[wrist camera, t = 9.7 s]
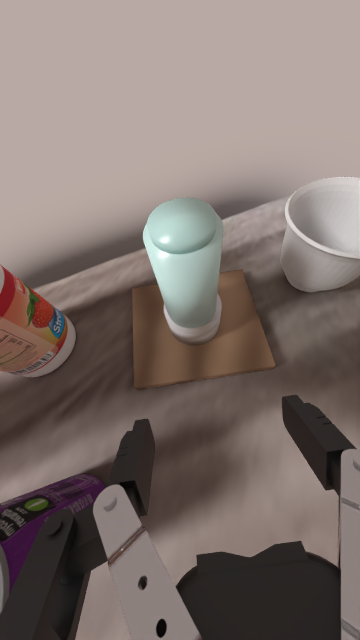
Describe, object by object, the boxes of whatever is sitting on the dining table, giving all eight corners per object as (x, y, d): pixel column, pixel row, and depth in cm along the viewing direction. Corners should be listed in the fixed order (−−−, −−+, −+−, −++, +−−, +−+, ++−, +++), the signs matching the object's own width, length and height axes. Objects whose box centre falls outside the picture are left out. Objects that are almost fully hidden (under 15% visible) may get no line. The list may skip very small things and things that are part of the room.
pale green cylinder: (169, 332, 21) (141, 257, 12) (164, 290, 24) (138, 201, 14) (221, 323, 21) (234, 241, 12) (210, 282, 24) (214, 186, 14)
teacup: (363, 341, 24) (453, 293, 15) (247, 287, 29) (265, 228, 21) (391, 272, 28) (477, 202, 19) (284, 235, 33) (312, 166, 24)
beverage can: (91, 455, 22) (-15, 483, 11) (131, 521, 19) (38, 639, 9) (32, 514, 20) (-158, 610, 10) (66, 595, 17) (-151, 860, 7)
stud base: (137, 389, 25) (121, 380, 20) (135, 294, 31) (121, 269, 26) (272, 369, 24) (288, 354, 19) (240, 275, 30) (246, 247, 26)
